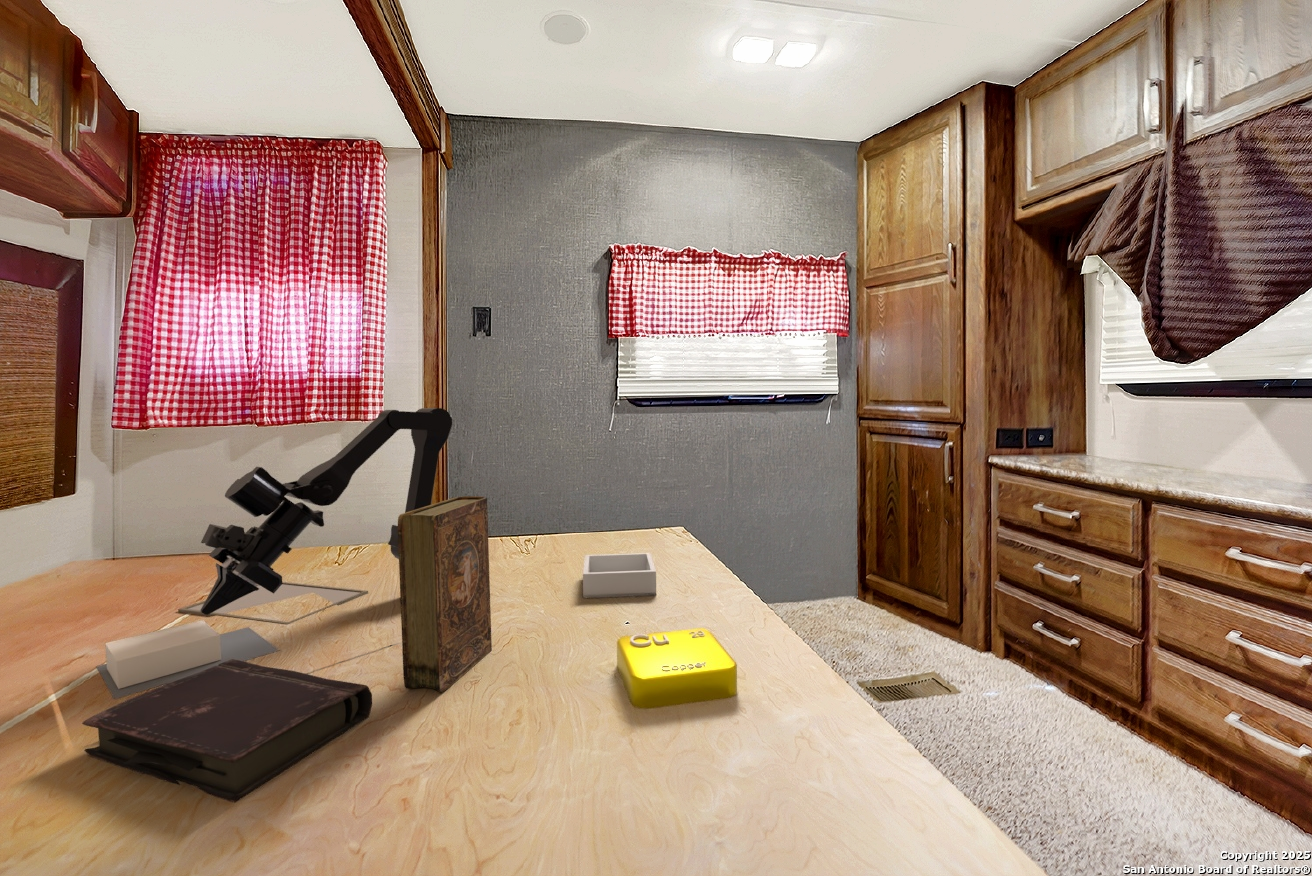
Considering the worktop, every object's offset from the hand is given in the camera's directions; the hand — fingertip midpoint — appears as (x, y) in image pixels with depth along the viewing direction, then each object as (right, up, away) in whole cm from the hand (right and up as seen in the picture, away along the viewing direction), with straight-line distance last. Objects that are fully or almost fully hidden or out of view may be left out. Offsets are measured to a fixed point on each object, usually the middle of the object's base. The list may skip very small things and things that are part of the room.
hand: (203, 613), depth 94 cm
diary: (+21, -9, -22) cm, 32 cm away
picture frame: (-5, -6, +26) cm, 27 cm away
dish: (+64, -4, +34) cm, 73 cm away
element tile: (+75, -7, -9) cm, 76 cm away
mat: (-1, -7, -1) cm, 7 cm away
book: (+42, -7, -5) cm, 43 cm away
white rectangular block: (+1, -5, +1) cm, 5 cm away
